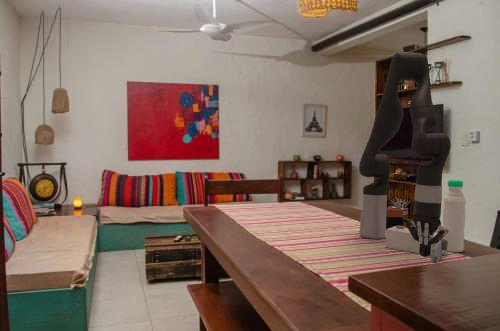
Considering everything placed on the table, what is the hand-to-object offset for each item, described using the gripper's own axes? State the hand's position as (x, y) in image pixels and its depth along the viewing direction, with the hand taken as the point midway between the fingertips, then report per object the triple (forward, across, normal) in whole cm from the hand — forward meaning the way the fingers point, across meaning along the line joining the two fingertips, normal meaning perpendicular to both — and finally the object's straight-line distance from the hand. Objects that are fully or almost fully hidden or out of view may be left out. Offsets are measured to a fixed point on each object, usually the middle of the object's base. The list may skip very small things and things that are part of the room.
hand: (424, 256), depth 122 cm
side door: (+3, 0, +6) cm, 7 cm away
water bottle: (+4, -6, +27) cm, 28 cm away
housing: (+4, -14, +16) cm, 21 cm away
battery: (+5, -40, +40) cm, 57 cm away
